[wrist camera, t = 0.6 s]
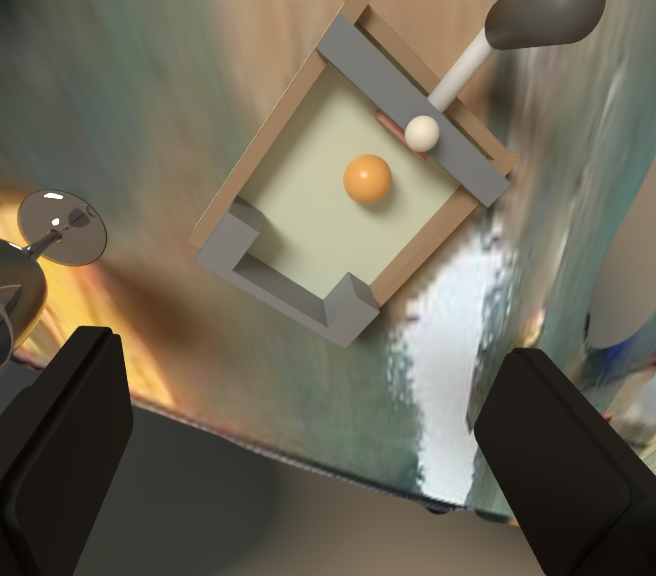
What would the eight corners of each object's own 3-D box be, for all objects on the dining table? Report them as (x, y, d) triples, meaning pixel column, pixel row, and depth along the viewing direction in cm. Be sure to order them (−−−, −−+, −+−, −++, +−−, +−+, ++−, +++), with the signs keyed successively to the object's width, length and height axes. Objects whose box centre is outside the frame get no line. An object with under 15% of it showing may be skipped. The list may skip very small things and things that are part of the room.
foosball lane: (348, -5, 28) (363, -22, 23) (499, 152, 35) (538, 166, 30) (195, 226, 35) (180, 253, 30) (345, 319, 42) (354, 354, 37)
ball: (360, 140, 32) (370, 148, 29) (394, 169, 34) (407, 180, 30) (330, 178, 34) (336, 191, 30) (365, 205, 35) (374, 220, 32)
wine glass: (91, 179, 33) (-35, 252, 20) (123, 264, 37) (36, 371, 24) (-7, 190, 32) (-202, 271, 19) (36, 274, 36) (-101, 389, 23)
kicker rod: (416, -106, 25) (496, -212, 16) (569, 89, 32) (689, 96, 22) (306, 59, 29) (318, 53, 19) (464, 201, 36) (529, 248, 26)
